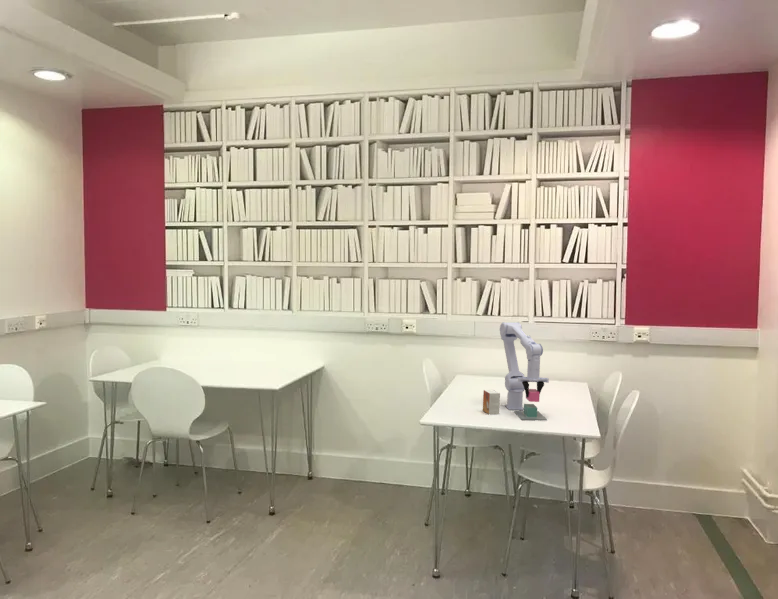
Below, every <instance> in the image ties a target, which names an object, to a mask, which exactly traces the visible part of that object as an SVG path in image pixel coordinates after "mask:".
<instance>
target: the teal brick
mask: <svg viewBox="0 0 778 599" xmlns="http://www.w3.org/2000/svg"><path fill="white" fill-rule="evenodd" d="M523 408H524V410H523V411H524V414H525V415H526V416H527V417H537V411H538V407H537V406H536V405H535V404H534V403H524V404H523Z"/></svg>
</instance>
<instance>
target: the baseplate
mask: <svg viewBox="0 0 778 599" xmlns="http://www.w3.org/2000/svg"><path fill="white" fill-rule="evenodd" d="M513 412H514V413H515V414H516V416H517V415H518V416H519V417H518V416H517V417H518V418H519V419H520V420H521V421H535V420H547V421H548V419H547V418H546V417H545V416H544V415H543V414H542V413H541V412H540V411H538V410H537V417H527V416H526V415H525V414H524V410H513Z"/></svg>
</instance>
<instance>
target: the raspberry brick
mask: <svg viewBox="0 0 778 599" xmlns="http://www.w3.org/2000/svg"><path fill="white" fill-rule="evenodd" d="M540 395H541V392H538V391H537V388H529V390H528V397H526V396H525V399H526V400H527V401H528V402H530V403H533V402H534V403H535V402H536V403H540Z"/></svg>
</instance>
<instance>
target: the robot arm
mask: <svg viewBox="0 0 778 599" xmlns="http://www.w3.org/2000/svg"><path fill="white" fill-rule="evenodd" d="M499 334H500V339H501V340H502V341H503V342H502V343H503V346H504V347H503V348H504V352H505V359H506V363H507V368H508V369H507V370H508V373H507V374H505V376H504V387H505V389H506V390H507V396H506V398H507V399H506V404H505V407H506V408H507V410H509V411H511V410H513V411H524V406H523V399H524V398H523V396H524V393H525V398H526V397H528V390H529V389H530V383H536V390H537V391H538V392H540V393H541V392H542V389H543V387H544V386H545V383H546V384H547V383H548V384H549V381H550V379H549V378H548V377H541V376H540V372H541V371H540V369H541V356H542V355H543V352H544V348H543V345H542V344H541V343H537V342H536V341H535V340H534V339H533V338H532V336H531V335H528V334H527V335H526V333H525V332H524V331H523V326H522V324H521V323H520V322H519V321H517V322H505V321H502V322H501V324H500V326H499ZM517 339H518V340H520V344H521V346H522V347H523V348H524V349H525V354H526V359H527V369H526V370H527V371H526V372H527V375H526V376H525V374H524V373H522V372H521V371H520V368H519V363H518V359H517V358H518V357H517V353H516V348H515V341H516V340H517Z"/></svg>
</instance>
